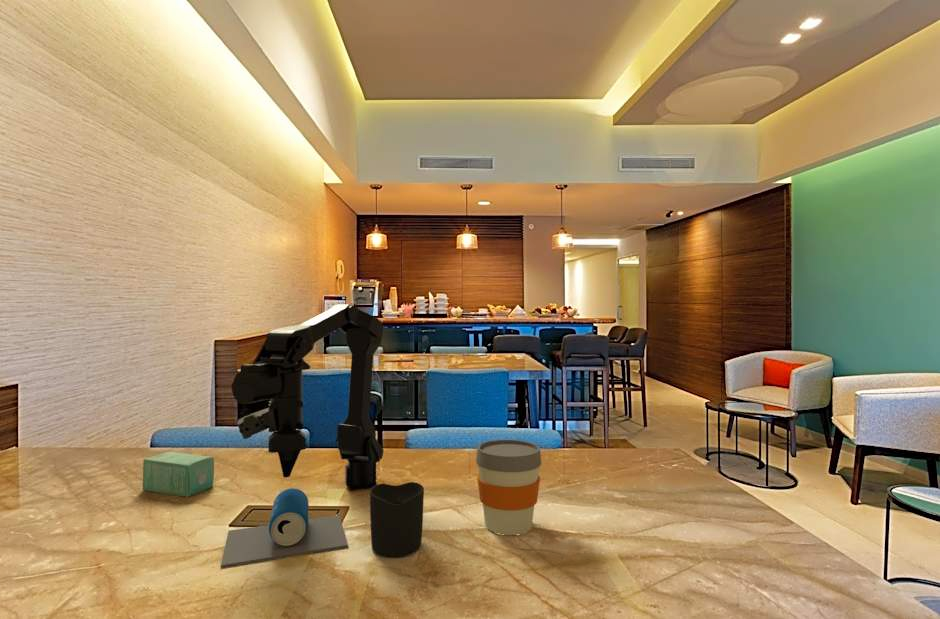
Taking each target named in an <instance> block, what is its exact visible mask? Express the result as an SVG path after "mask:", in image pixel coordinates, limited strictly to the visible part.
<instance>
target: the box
mask: <svg viewBox="0 0 940 619" xmlns="http://www.w3.org/2000/svg"><path fill="white" fill-rule="evenodd" d="M142 464H143V467H142V468H143V469H142V475H143V476H142V490H143V491H146V492H152V493H160V494H165V495H173V496H178V495H179V497H184V496H185V498H190V497H192V496H194V495H196V493H197V494H199V493H201V492H203V491H205V489H206V490H207V489H210V488H212V487H213V485H214V480H215V476H214V475H215V458H214V457H213V456H207V455H202V454H200V455H199V454H192V453H186V452H185V453H183V452H176V451H166V452H163V453H160V454H156V455H153V456H150V457H146V458H143V463H142ZM198 492H199V493H198ZM191 495H192V496H191ZM189 496H190V497H189Z"/></svg>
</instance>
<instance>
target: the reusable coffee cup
mask: <svg viewBox="0 0 940 619" xmlns="http://www.w3.org/2000/svg"><path fill="white" fill-rule="evenodd" d="M541 456H542V454H541V448H540V446H539V445H537V444H535V443H534V442H532V441H531V442H530V441H526V440H521V439H519V440H518V439H494V440H493V439H492V440H488V441H484V442H482V443H480V444H478V445H477V448H476V457H475V458H476V459H475V463H476V465H477V467H478V468H477V469H478V474H477V477H476V478H477V484H478V485H477V486H478V493H479V494H478V495H479V501H480V502H481V503H482V508H483V517H484V519H483V520H484V526H486V527H487V528H488V529H489V530H491V531H493V532H496V533H500V534H504V535H517V534H522V533H525V532H527V533H529V532H530V531H531V530H532V528H531V527H533V518H534V514H535V513H534V511H535V505H536V504H537V503H538V497H539V490H540V489H539V488H540V482H541V478H540V475H539V472H540V467H541V465H542V457H541ZM486 527H485V528H486ZM487 528H486V529H487ZM488 529H487V530H488ZM530 529H531V530H530ZM489 530H488V531H489ZM529 530H530V531H529ZM528 531H529V532H528ZM525 534H526V533H525ZM504 535H503V536H504ZM522 535H523V534H522ZM517 536H518V535H517Z"/></svg>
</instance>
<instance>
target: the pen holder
mask: <svg viewBox="0 0 940 619" xmlns="http://www.w3.org/2000/svg"><path fill="white" fill-rule="evenodd" d="M424 493H425V487H424V485H422V484H420V483H419V482H414V481H410V482H405V483H403V484H399V485H396V484H395V485H393V484H387V483H379V484H378V483H377V485H375V486H373V487H372V488H369V512H370V513H369V514H370V515H369V516H370V537H371V538H370V539H371V541H370V542H371V549H372V551H373V552H374V553H375V554H376V555H378V556H380V557H384V558H389V559H397V558H398V559H399V558H405V557H409V556H410V555H413V554H415V553H416V552H418V551H419V550H420V548H421V546H422V542H423V540H422V538H423V522H424V501H425V500H424V499H425V498H424V496H425V494H424Z"/></svg>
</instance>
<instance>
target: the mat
mask: <svg viewBox="0 0 940 619" xmlns="http://www.w3.org/2000/svg"><path fill="white" fill-rule="evenodd" d="M341 519H342V518H341V516H340V515H339V514H338V515H331V516H324V517H317V518H308V529H307V532H306V534H305V535H304V536H303V538H302V539H301V540H299V541H298V542H297V543H295V544H293V545H289V546H283V545H280V544H278V543H276V542H275V541H274V540H273V539H272V538H271V536H270V533H269V524H266V525H259V526H253V527H244V528H237V529H231V530H228V533H227V534H226V535H227V537H226V540H225V545H224V549H223V553H222V558H221V563H220V568H227V567H228V568H229V567H234V566H240V564H241V565H246V564H252V562H253V563H258V562H259V563H260V562H265V561H271V560H276V559H283V558H291V557H296V556H301V555H303V556H304V555H309V554H313V553H321V552H325V551H333V550H340V549H344V548H349V543H348V540H347V536H346V533H345V530H344V527H343V522H342V520H341ZM289 523H290V522H289Z"/></svg>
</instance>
